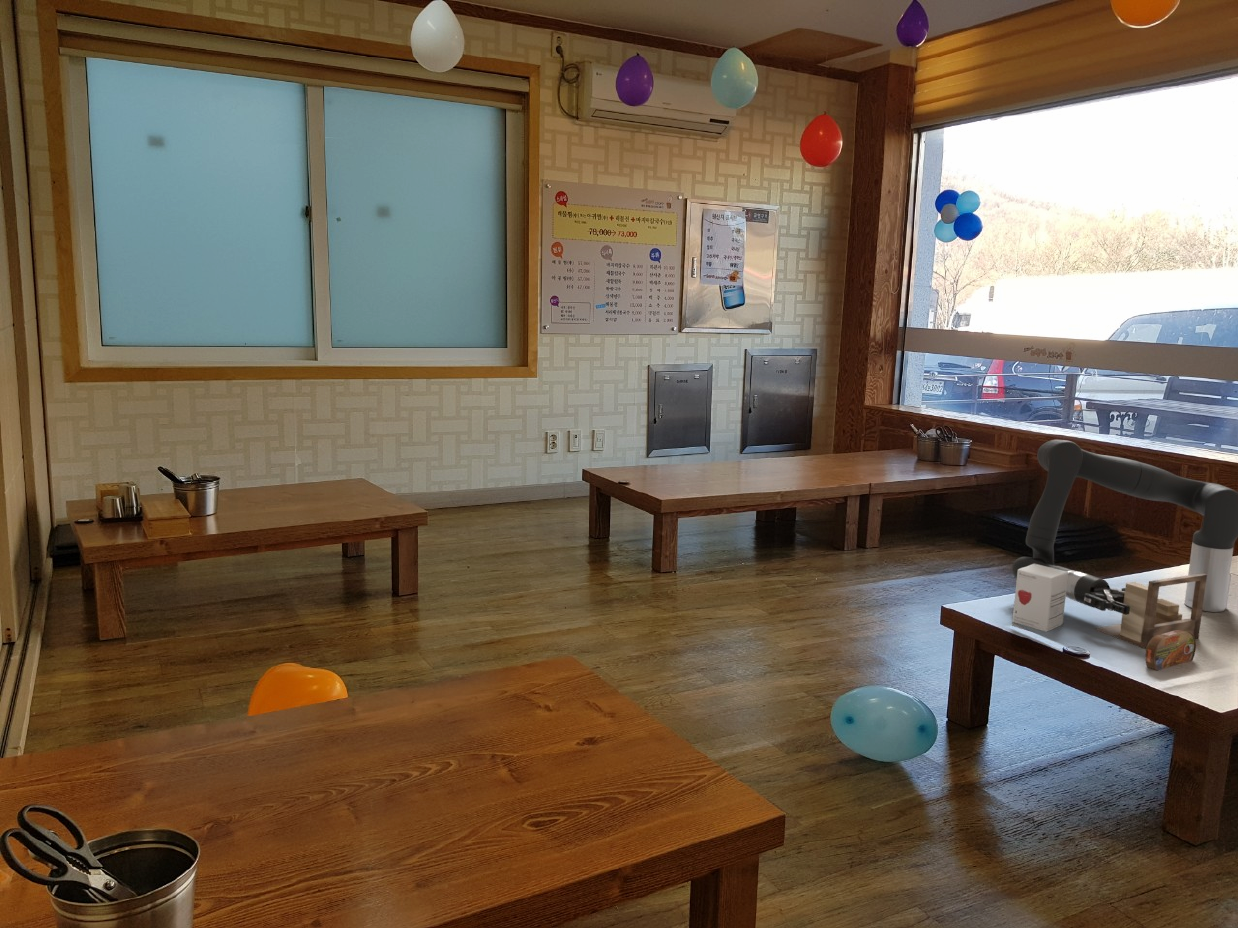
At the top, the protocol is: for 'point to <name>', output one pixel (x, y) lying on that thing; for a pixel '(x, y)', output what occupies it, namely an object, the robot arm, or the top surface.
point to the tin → (1170, 649)
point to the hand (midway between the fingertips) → (1141, 608)
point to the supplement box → (1040, 597)
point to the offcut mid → (1167, 618)
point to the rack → (1151, 606)
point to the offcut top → (1167, 607)
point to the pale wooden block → (1134, 611)
